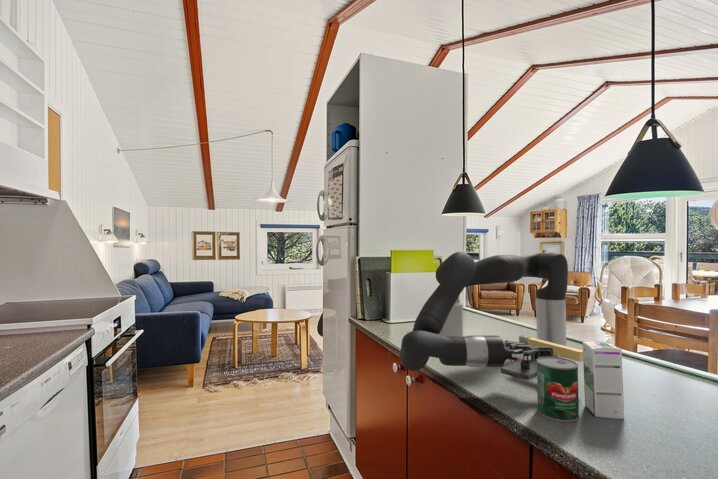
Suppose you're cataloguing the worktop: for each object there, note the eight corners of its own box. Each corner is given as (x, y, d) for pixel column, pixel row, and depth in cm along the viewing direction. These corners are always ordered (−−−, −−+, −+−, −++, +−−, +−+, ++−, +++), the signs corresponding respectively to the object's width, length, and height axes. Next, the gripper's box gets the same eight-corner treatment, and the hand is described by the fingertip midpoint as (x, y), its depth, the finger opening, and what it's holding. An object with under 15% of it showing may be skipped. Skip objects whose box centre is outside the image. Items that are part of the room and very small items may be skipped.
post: (518, 364, 112) (518, 341, 112) (545, 371, 106) (545, 346, 106) (501, 371, 106) (500, 346, 106) (528, 379, 99) (528, 353, 100)
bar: (516, 344, 107) (516, 336, 107) (524, 343, 108) (523, 335, 109) (578, 362, 91) (578, 352, 91) (586, 360, 92) (586, 350, 92)
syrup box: (625, 419, 76) (624, 348, 76) (593, 417, 77) (592, 347, 78) (612, 407, 82) (611, 341, 82) (583, 405, 83) (581, 340, 83)
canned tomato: (561, 425, 74) (560, 370, 74) (529, 409, 81) (528, 359, 81) (587, 417, 77) (586, 364, 77) (554, 403, 84) (553, 354, 85)
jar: (436, 334, 151) (436, 290, 151) (461, 334, 150) (460, 290, 150) (438, 340, 141) (437, 293, 142) (464, 341, 140) (464, 293, 140)
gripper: (490, 342, 85) (566, 342, 85) (473, 330, 98) (538, 330, 98) (491, 375, 85) (566, 375, 85) (473, 358, 98) (538, 359, 98)
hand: (551, 351), depth 91 cm, fingers closed
